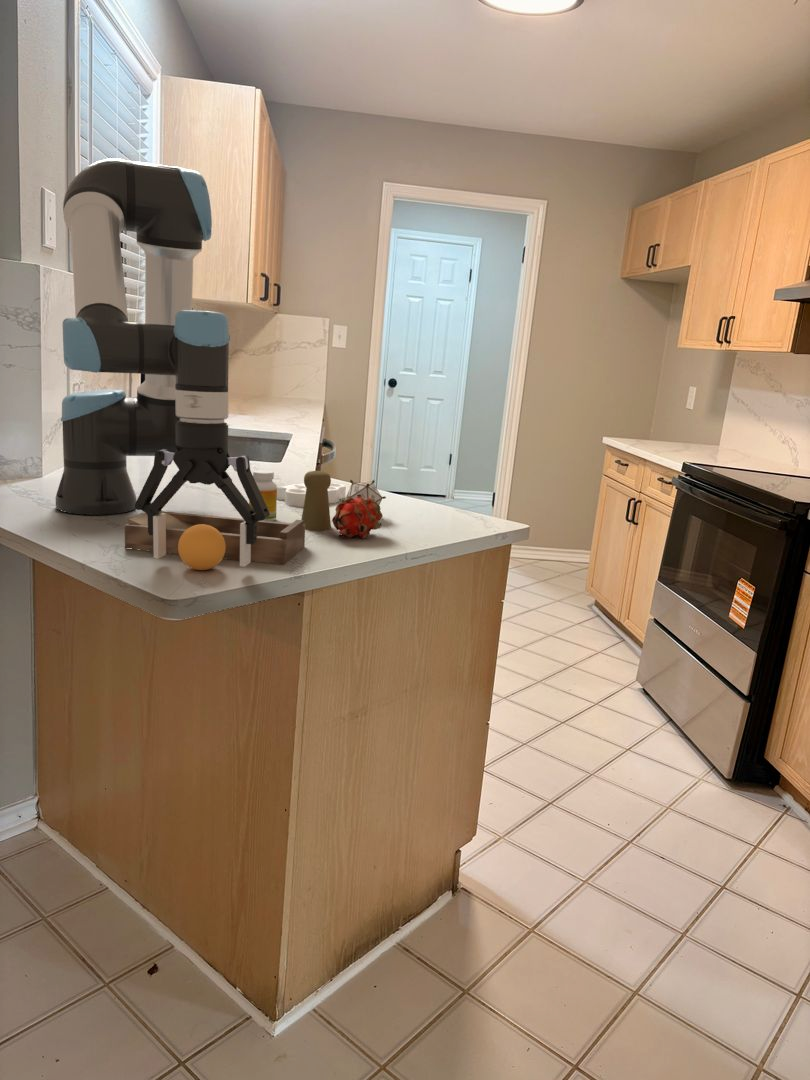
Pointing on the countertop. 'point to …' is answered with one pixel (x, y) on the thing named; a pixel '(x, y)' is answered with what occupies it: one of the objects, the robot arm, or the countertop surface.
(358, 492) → the geometric wire polyhedron
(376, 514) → the dragon fruit
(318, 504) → the cork
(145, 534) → the wooden tray
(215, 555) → the rubber ball
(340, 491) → the white scalloped tray
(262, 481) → the supplement bottle
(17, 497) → the countertop surface
